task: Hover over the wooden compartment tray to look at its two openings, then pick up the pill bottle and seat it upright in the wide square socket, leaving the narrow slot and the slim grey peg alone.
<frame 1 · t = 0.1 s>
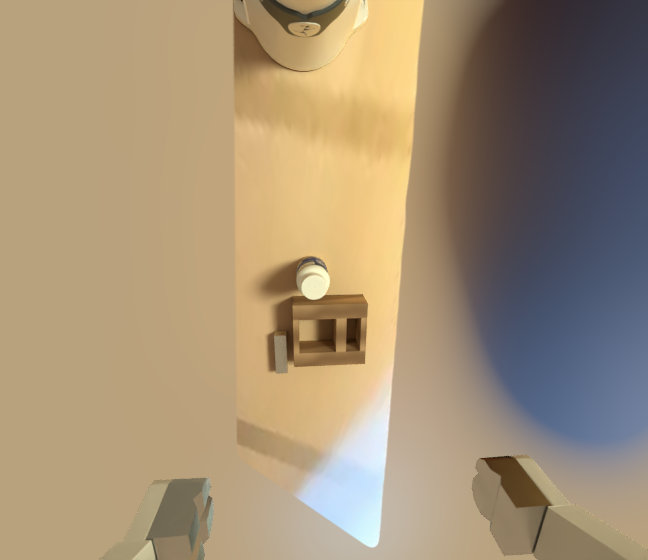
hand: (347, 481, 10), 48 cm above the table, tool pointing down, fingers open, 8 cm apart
pill bottle: (311, 269, 58), on the table
slim grey peg: (281, 348, 62), on the table
wooden compartment tray: (327, 324, 61), on the table
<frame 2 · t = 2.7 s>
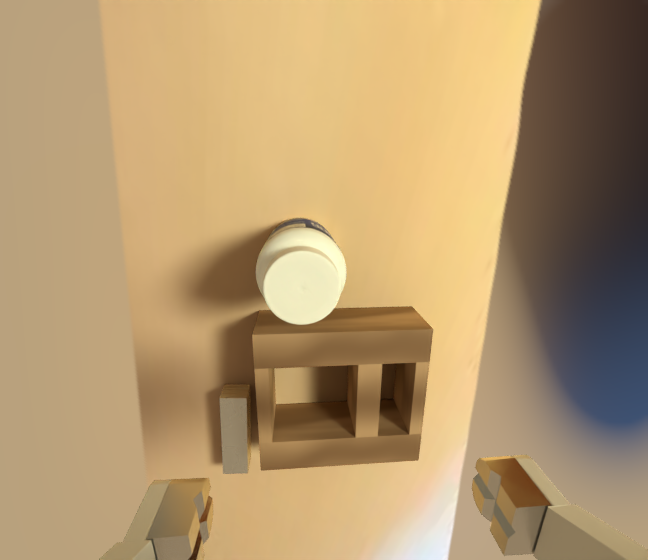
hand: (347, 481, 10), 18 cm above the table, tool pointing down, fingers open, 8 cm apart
pill bottle: (300, 250, 26), on the table
slim grey peg: (238, 419, 30), on the table
wooden compartment tray: (335, 370, 29), on the table
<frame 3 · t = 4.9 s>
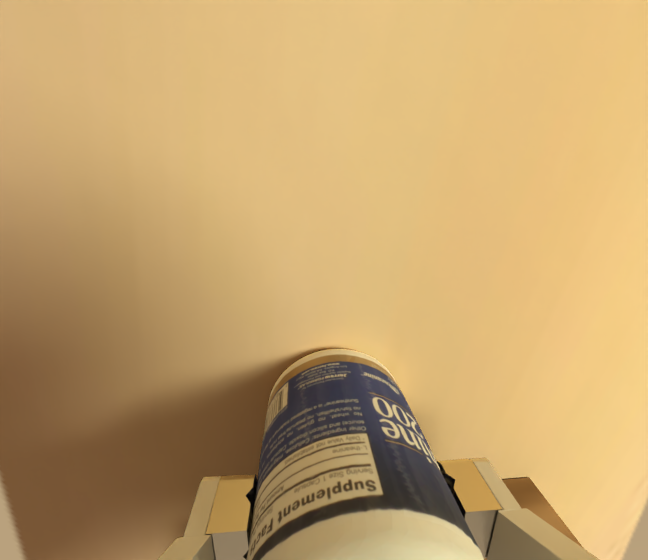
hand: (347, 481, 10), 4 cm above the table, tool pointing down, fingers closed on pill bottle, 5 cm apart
pill bottle: (333, 398, 13), on the table, touching gripper
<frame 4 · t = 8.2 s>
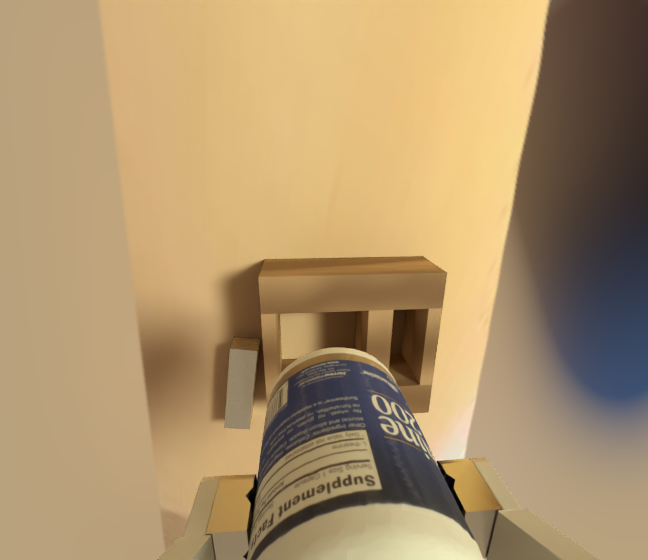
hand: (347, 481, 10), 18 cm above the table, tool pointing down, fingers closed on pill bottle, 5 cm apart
pill bottle: (333, 396, 13), point 14 cm above the table, touching gripper
slim grey peg: (244, 375, 29), on the table
wooden compartment tray: (343, 324, 28), on the table
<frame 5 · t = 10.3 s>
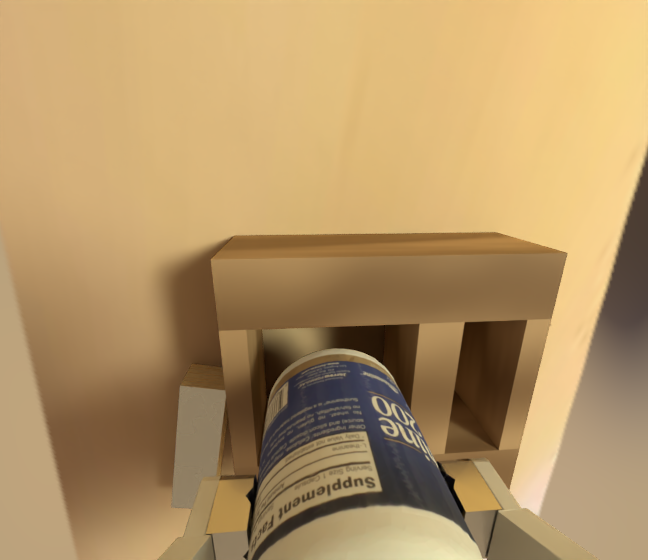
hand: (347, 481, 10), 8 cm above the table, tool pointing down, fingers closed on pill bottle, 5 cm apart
pill bottle: (333, 397, 13), point 4 cm above the table, touching gripper
slim grey peg: (208, 421, 19), on the table
wooden compartment tray: (364, 342, 18), on the table
when the fingers open (5 cm above the table, at t = 11.7 s): pill bottle drops 2 cm, resting in wooden compartment tray.
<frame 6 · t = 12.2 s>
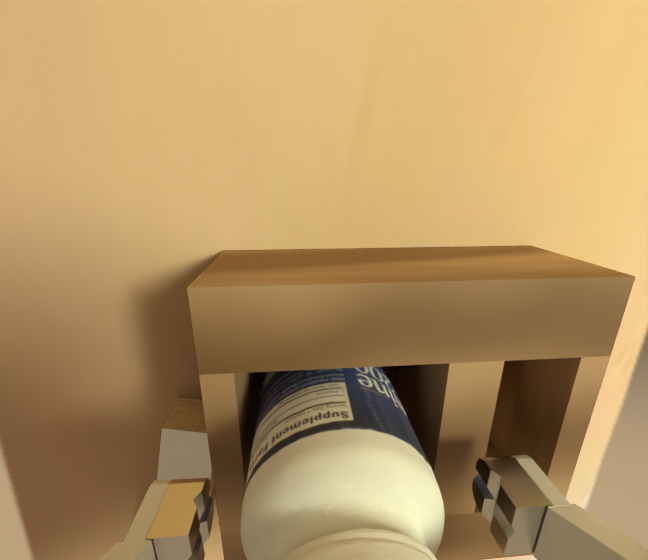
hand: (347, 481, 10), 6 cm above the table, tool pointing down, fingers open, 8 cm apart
pill bottle: (323, 370, 15), resting in wooden compartment tray
slim grey peg: (195, 461, 16), on the table
wooden compartment tray: (375, 372, 15), on the table
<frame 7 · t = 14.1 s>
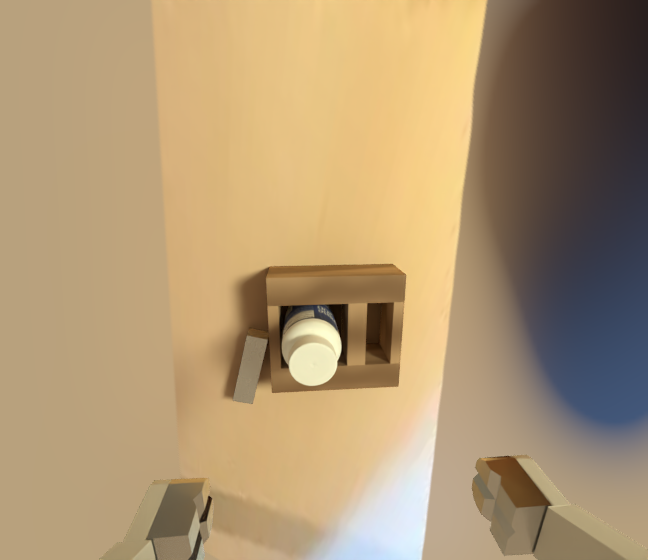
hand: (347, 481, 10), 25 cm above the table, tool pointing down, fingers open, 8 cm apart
pill bottle: (309, 317, 35), resting in wooden compartment tray
slim grey peg: (252, 360, 36), on the table
wooden compartment tray: (331, 318, 35), on the table
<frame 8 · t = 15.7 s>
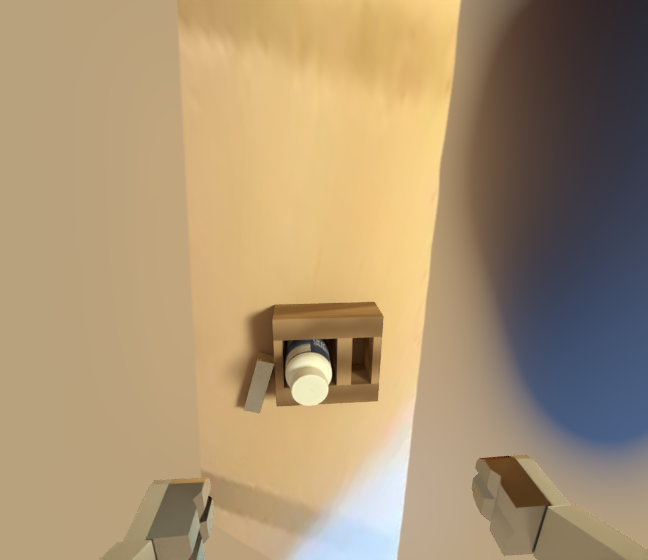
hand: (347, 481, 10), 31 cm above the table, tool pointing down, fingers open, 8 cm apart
pill bottle: (306, 343, 43), resting in wooden compartment tray
slim grey peg: (260, 377, 44), on the table
wooden compartment tray: (325, 344, 43), on the table
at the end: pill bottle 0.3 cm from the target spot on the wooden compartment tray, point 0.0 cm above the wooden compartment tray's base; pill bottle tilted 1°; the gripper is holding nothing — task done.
